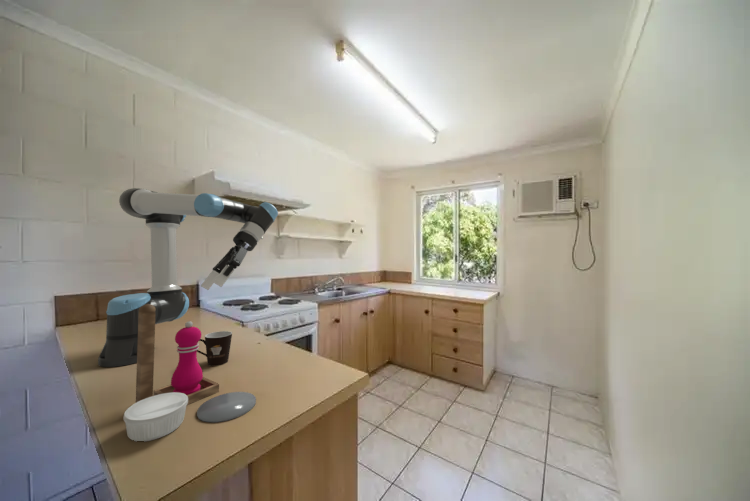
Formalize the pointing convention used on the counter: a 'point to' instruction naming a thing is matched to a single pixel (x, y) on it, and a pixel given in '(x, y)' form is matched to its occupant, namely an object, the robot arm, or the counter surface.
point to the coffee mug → (217, 347)
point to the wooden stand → (147, 362)
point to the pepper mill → (187, 361)
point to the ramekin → (155, 416)
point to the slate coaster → (226, 407)
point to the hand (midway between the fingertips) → (210, 286)
